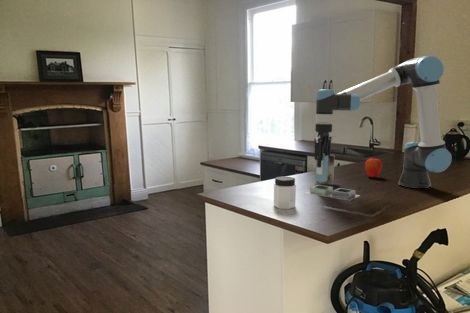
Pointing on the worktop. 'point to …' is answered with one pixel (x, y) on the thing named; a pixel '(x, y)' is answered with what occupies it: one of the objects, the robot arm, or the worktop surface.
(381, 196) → the worktop surface
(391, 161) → the worktop surface
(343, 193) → the panel
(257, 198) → the worktop surface
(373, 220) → the worktop surface
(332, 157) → the coffee box
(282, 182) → the jar
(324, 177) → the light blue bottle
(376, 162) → the apple
